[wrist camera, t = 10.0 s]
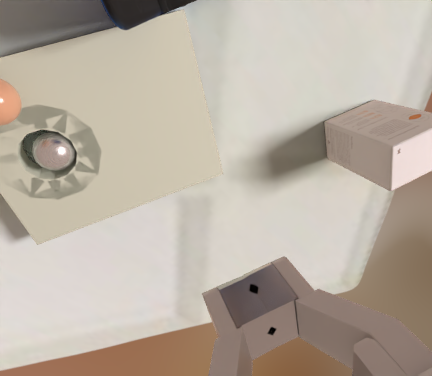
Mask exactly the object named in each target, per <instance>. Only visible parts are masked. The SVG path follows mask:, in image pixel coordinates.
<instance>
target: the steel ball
mask: <svg viewBox="0 0 432 376" xmlns="http://www.w3.org/2000/svg"><path fill="white" fill-rule="evenodd" d="M32 155H33V158H34V160H35V161H36V162H37V163H38V164H39V165H40V166H41V167H43V168H45V169H48V170H53V171H58V170H62V169H65V168H67V167H68V166H70V165H71V164H72V163H73V161H74V159H75V156H76V150H75V148H74V146H73V144H72V142H71V140H69V139H68V138H66V137H65V136H63V135H62V134H60V133H59V132H55V131H50V132H45V133H43V134H41V135H39V136H38V137H37V138H36V139H35V141H34V142H33V145H32Z"/></svg>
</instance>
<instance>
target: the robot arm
mask: <svg viewBox="0 0 432 376" xmlns="http://www.w3.org/2000/svg"><path fill="white" fill-rule="evenodd" d="M202 295H203V298H204V300H205V303H206V306H207V309H208V311H209V314H210V317H211V319H212V322H213V325H214V327H215V330H216V333H217V335H218V337H219V338H217V339H216V340H215V344H214V350H213V355H212V360H211V365H210V370H209V376H252V364H253V363H252V360H254V359H256V358H257V357H259V356H261V355H263V354H265V353H266V352H268V351H270V350H272V349H274V348H276V347H278V346H280V345H282V344H284V343H286V342H288V341H290V340H292V339H294V338H297V337H300V338H301V339H303V340H304V341H306V342H308V343H309V344H311V345H313V346H314V347H316V348H318V349H319V350H321V351H323V352H324V353H326V354H328V355H329V356H331V357H333V358H334V359H336V360H338V361H339V362H341V363H343V364H344V365H346V366H348V367H349V368H351V369H353V372H352V376H432V352H431V350H429V349H428V348H427V347H426V346H425V345H424V344H423V343H422V342H421V341H420V340H419V339H418V338H417V337H416V336H415V335H414V334H413V333H412V332H411V331H410V330H409V329H408V328H407V327H406V326H404V325H403V324H402V323H401V322H400V321H399V320H398V319H396V318H393V317H391V316H388V315H386V314H383V313H380V312H377V311H375V310H372V309H370V308H367V307H365V306H362V305H359V304H357V303H354V302H352V301H349V300H346V299H344V298H341V297H338V296H336V295H333V294H331V293H328V292H325V291H323V290H320V289H317V290H314V289H313V288H312V287H311V286H310V285H309V283H308V282H307V281H306V280H305V279H304V278H303V276H302V275H301V274H300V273H299V272H298V271H297V269H296V268H295V267H294V266H293V265H292V263H291V262H290V261H289V260H288V259H287V258H286V257H281V258H279V259H277V260H275V261H273V262H271V263H268V264H265V265H263V266H261V267H259V268H257V269H255V270H253V271H251V272H249V273H246V274H244V275H243V276H241V277H239V278H236V279H234V280H232V281H229V282H227V283H224V284H222V285H220V286H217V287H215V288H213V289H211V290H209V291H206V292H204V293H202Z"/></svg>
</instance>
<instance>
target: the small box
mask: <svg viewBox="0 0 432 376" xmlns="http://www.w3.org/2000/svg"><path fill="white" fill-rule="evenodd" d="M324 124H325V136H326V148H327V158H328V159H329V160H331V161H333V162H335V163H337V164H339V165H341V166H343V167H345V168H347V169H349V170H350V171H352V172H354V173H356V174H358V175H360V176H362V177H364V178H366V179H368V180H370V181H372V182H374V183H376V184H378V185H380V186H382V187H383V188H385V189H387V190H389V191H392V190H394V189H396V188H398V187H400V186H402V185H404V184H406V183H408V182H410V181H412V180H414V179H416V178H418V177H420V176H422V175H424V174H426V173H428V172H430V171H432V113H430V112H425V111H421V110H417V109H412V108H408V107H404V106H399V105H395V104H391V103H386V102H382V101H378V100H373V101H370V102H368V103H366V104H363V105H361V106H359V107H357V108H354V109H352V110H350V111H347V112H345V113H343V114H340V115H338V116H336V117H334V118H331V119H329V120H327V121H325V122H324Z"/></svg>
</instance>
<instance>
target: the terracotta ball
mask: <svg viewBox="0 0 432 376" xmlns="http://www.w3.org/2000/svg"><path fill="white" fill-rule="evenodd" d="M21 108H22V103H21V98H20V95H19V93H18V92H17V90H16V89H15V88H14V87H13V86H12V85H11V84H10V83H8V82H7V81H5V80H3V79H1V78H0V126H3V125H7V124H9V123H11V122H13V121H14V120H15V119H16V118H17V117H18V116H19V114H20V112H21Z"/></svg>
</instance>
